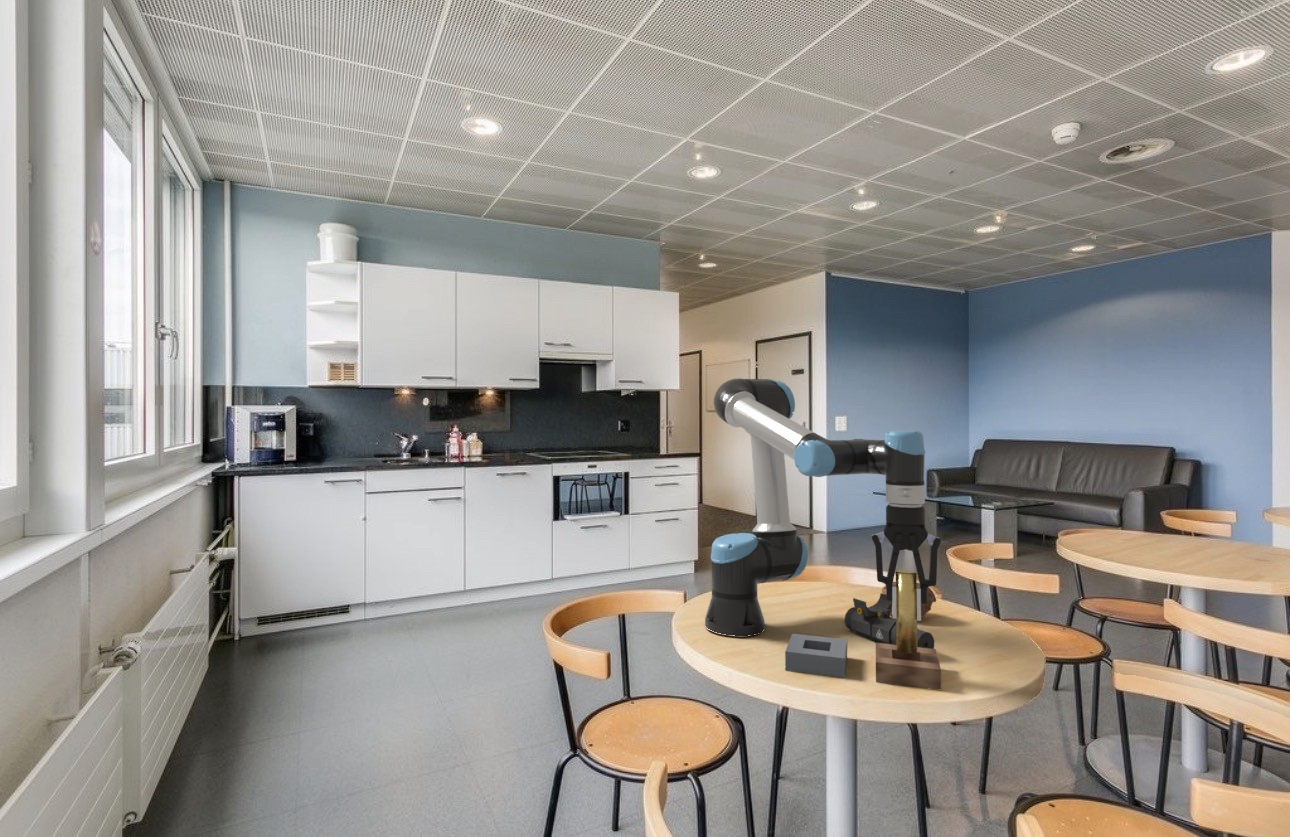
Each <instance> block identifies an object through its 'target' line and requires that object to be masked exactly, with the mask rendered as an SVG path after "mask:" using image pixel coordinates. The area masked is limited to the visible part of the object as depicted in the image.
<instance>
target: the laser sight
mask: <svg viewBox="0 0 1290 837" xmlns="http://www.w3.org/2000/svg"><path fill="white" fill-rule="evenodd" d="M852 600H853V607H850V608H849V609H847V611H846V613H845V616H844V625H845V627H846V628H847V630H849V631H852V632H853V633H854V634H855V635H857V636H860V637H863V638H866V639H868V640H870V641H874V642H875V643H883V644H893V645H896V618H893V616H890V612H891V609H892V601H887V598H886V595H885V594H882V592H881V593H879V598H878V600H877V601H876V602H875V603H874V604H873V605H871V606H869V607H868V605H867V601H864V600H861V599H858V598H856V597H854V598H852ZM917 647H920V648H930V649H935V638H934V636H933V633H930V632H928V631H925V630H922V629H919V628H917Z"/></svg>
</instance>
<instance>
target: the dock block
mask: <svg viewBox="0 0 1290 837" xmlns="http://www.w3.org/2000/svg"><path fill="white" fill-rule="evenodd" d="M875 682H876V683H880V684H881V683H882V684H888V685H889V684H890V685H896V686H904V687H910V688H911V687H912V688H922V689H927V688H930V689H929V690H935V689H941V690H942V668H941V664H940V661H939V657H938V653H937V650H936V649H935V648H934V649H930V648H920V647H917V652H915V653H905V652H901V651H899V650H897V646H896V645H893V644H883V643H878V642H875Z"/></svg>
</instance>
